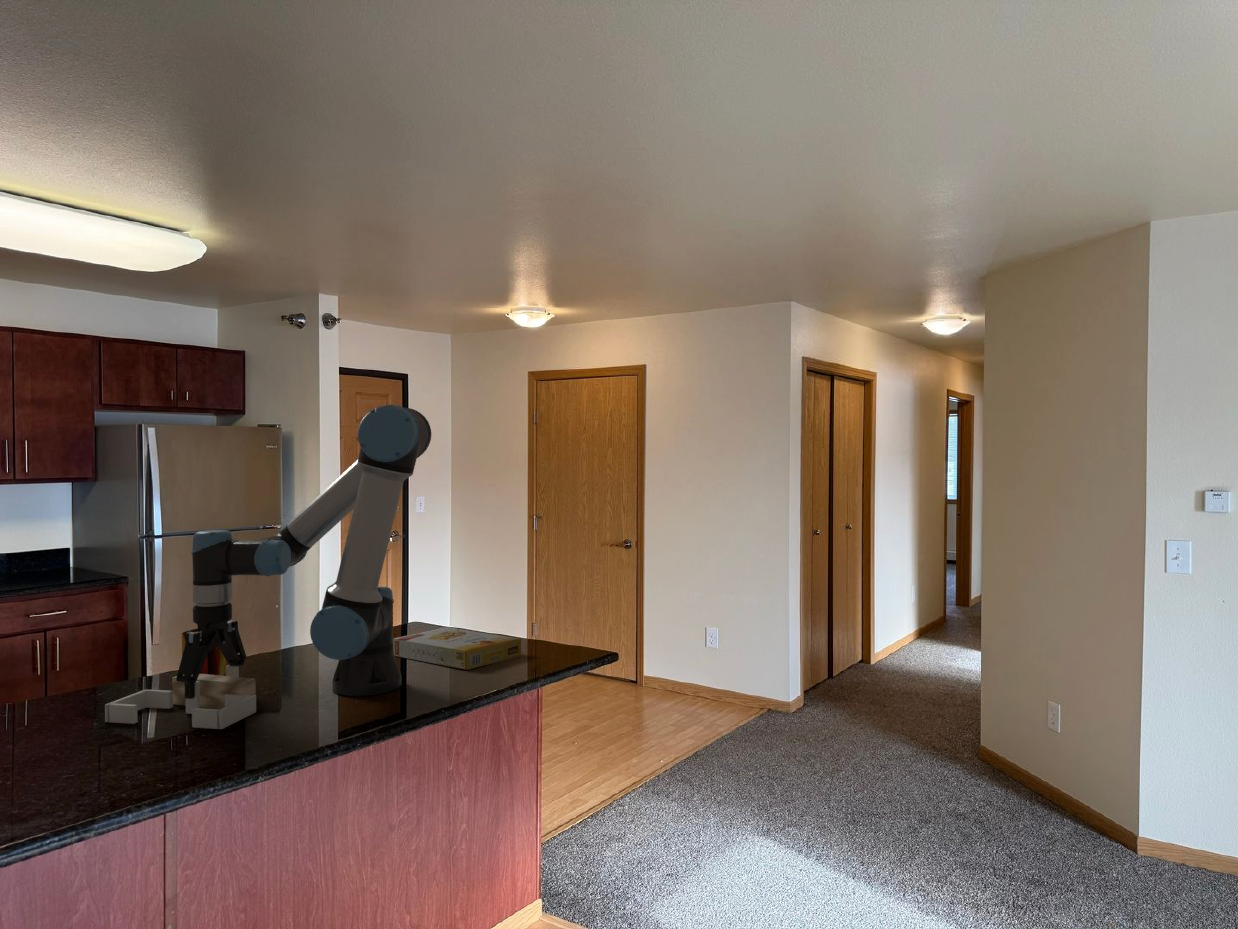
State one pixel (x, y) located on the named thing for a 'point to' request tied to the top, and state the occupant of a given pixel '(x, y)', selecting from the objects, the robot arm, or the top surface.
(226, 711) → the tray
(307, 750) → the top surface
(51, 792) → the top surface
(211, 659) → the mug
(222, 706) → the wooden block
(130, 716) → the endcap far
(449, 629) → the cereal box
